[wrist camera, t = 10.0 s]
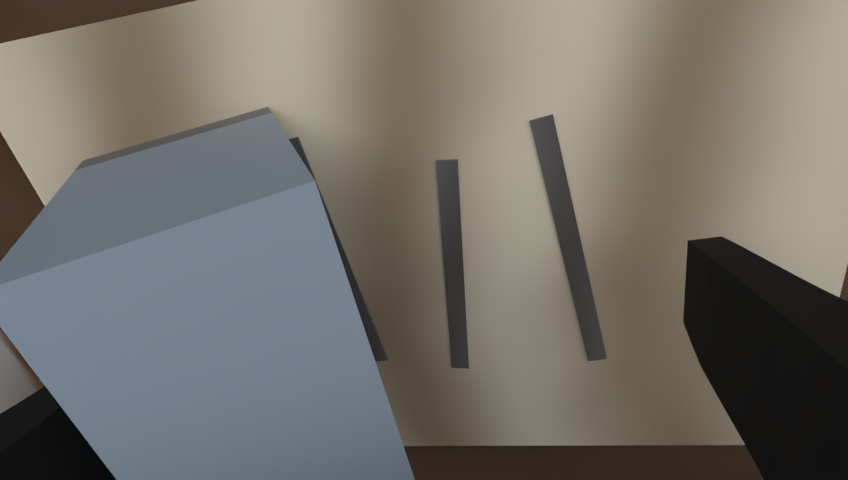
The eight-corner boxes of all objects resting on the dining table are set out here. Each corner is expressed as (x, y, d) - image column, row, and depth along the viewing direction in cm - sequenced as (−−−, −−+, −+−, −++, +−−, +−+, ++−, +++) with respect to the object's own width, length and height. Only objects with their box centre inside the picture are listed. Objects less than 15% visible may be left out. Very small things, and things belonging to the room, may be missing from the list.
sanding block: (268, 106, 12) (315, 181, 7) (359, 365, 16) (434, 538, 10) (82, 160, 11) (-26, 293, 6) (227, 421, 15) (239, 641, 10)
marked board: (907, -155, 9) (952, -165, 8) (787, 417, 15) (805, 446, 15) (-10, 46, 13) (-49, 54, 12) (202, 424, 20) (187, 447, 19)
